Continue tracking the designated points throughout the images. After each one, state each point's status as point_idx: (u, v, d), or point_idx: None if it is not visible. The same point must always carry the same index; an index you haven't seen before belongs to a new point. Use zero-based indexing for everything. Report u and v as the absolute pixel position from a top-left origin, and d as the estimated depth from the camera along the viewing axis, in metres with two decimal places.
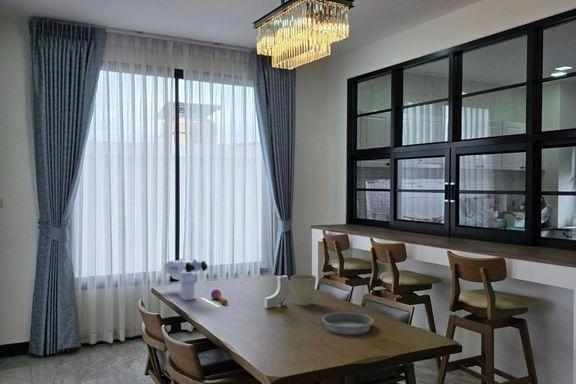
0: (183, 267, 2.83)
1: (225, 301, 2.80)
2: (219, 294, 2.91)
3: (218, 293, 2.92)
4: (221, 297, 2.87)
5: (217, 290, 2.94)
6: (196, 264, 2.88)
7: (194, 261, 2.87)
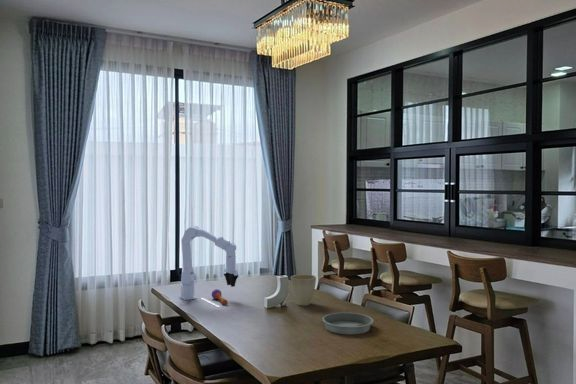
0: (236, 274, 2.87)
1: (225, 301, 2.80)
2: (219, 294, 2.91)
3: (218, 293, 2.92)
4: (221, 297, 2.87)
5: (218, 290, 2.94)
6: None
7: None
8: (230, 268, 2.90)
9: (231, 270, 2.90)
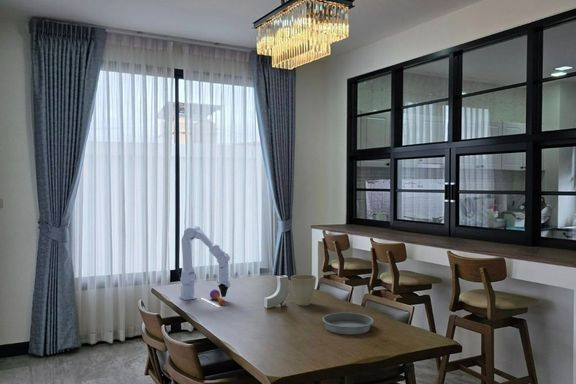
0: (228, 285, 2.84)
1: (223, 301, 2.79)
2: (218, 294, 2.90)
3: (217, 293, 2.91)
4: None
5: (216, 290, 2.94)
6: None
7: None
8: (223, 279, 2.88)
9: (224, 281, 2.88)
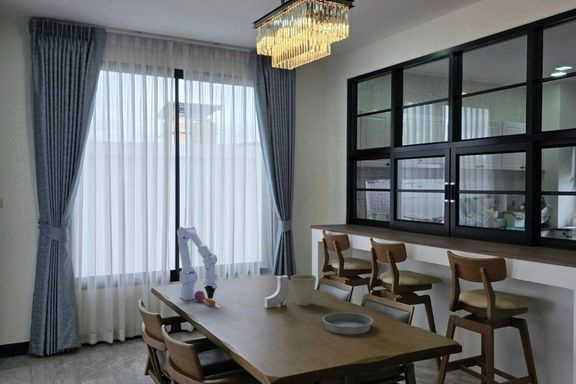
0: (215, 287, 2.80)
1: (212, 302, 2.76)
2: (203, 295, 2.85)
3: (201, 294, 2.86)
4: (206, 298, 2.82)
5: (199, 291, 2.88)
6: None
7: None
8: (209, 280, 2.83)
9: (210, 282, 2.83)
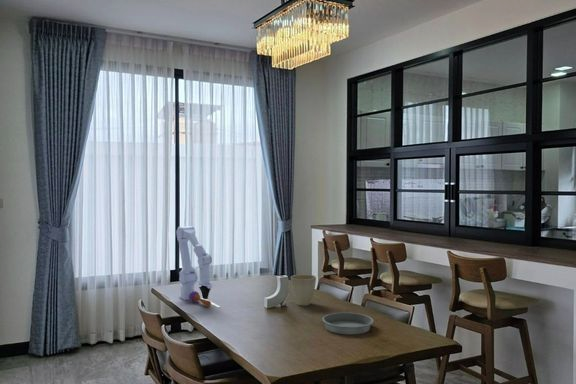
0: (210, 287, 2.78)
1: (208, 302, 2.74)
2: (198, 296, 2.83)
3: (196, 295, 2.83)
4: (201, 299, 2.80)
5: (193, 292, 2.86)
6: None
7: None
8: (204, 280, 2.81)
9: (205, 283, 2.81)
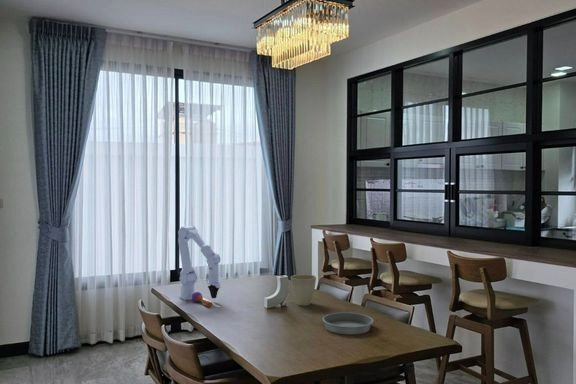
0: (218, 286, 2.81)
1: (210, 303, 2.75)
2: (201, 297, 2.85)
3: (200, 296, 2.85)
4: None
5: (198, 293, 2.87)
6: None
7: None
8: (213, 280, 2.84)
9: (214, 282, 2.84)
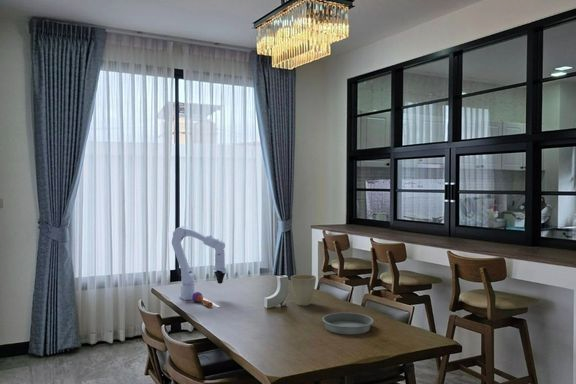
0: (225, 271, 2.89)
1: (210, 303, 2.75)
2: (201, 297, 2.85)
3: (200, 296, 2.85)
4: (204, 300, 2.81)
5: (199, 293, 2.87)
6: None
7: None
8: (219, 265, 2.93)
9: (220, 268, 2.93)
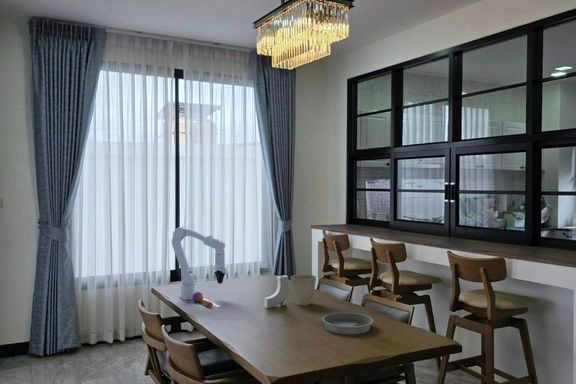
0: (225, 271, 2.89)
1: (210, 304, 2.74)
2: (202, 297, 2.85)
3: (200, 296, 2.85)
4: (205, 300, 2.81)
5: (199, 293, 2.87)
6: None
7: None
8: (219, 265, 2.93)
9: (220, 268, 2.93)
